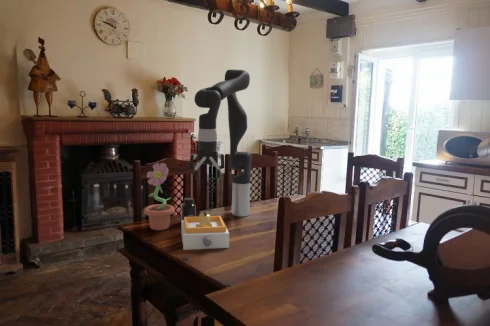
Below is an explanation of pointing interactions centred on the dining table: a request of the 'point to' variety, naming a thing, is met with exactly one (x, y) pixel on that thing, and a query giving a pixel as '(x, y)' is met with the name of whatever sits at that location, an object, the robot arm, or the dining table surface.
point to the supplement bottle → (188, 208)
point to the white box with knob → (204, 234)
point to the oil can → (204, 220)
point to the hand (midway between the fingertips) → (206, 178)
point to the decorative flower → (158, 212)
